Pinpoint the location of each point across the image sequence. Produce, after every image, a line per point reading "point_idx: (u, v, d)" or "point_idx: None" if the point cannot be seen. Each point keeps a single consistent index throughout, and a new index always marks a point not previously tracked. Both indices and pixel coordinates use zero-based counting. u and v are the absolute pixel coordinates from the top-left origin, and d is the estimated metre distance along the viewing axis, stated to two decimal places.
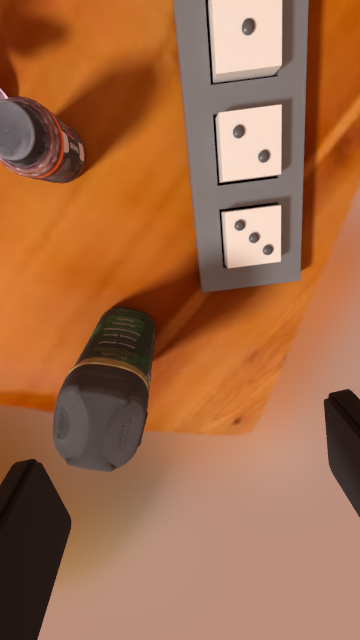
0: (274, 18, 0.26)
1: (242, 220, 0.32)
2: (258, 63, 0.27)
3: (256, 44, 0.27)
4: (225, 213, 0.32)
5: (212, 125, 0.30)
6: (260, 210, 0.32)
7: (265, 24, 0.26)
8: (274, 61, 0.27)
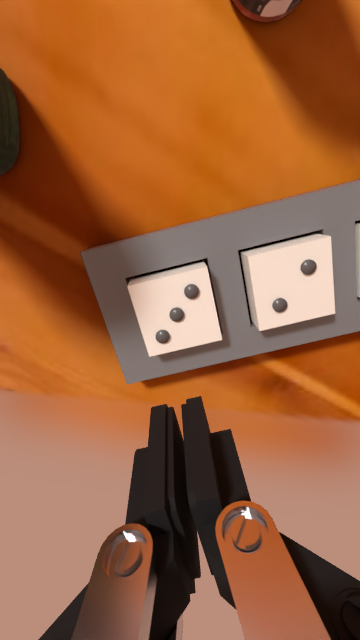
0: None
1: (198, 293, 0.22)
2: None
3: None
4: (205, 267, 0.22)
5: (310, 230, 0.23)
6: (213, 315, 0.23)
7: None
8: None
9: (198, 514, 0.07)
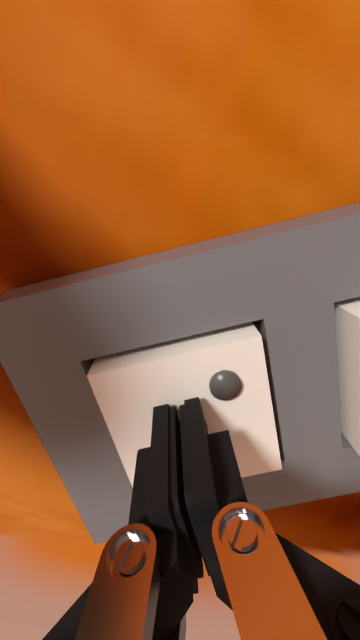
0: None
1: (239, 389, 0.10)
2: None
3: None
4: (257, 337, 0.10)
5: None
6: (268, 428, 0.11)
7: None
8: None
9: (195, 515, 0.07)
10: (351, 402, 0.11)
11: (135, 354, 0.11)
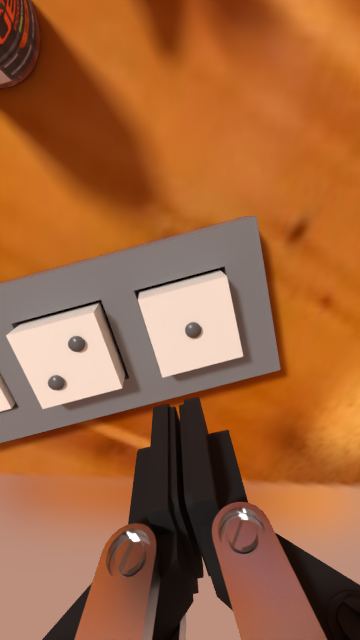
0: (205, 357, 0.21)
1: None
2: (159, 350, 0.21)
3: (177, 343, 0.21)
4: None
5: (87, 301, 0.21)
6: None
7: (198, 349, 0.21)
8: (164, 368, 0.21)
9: (195, 515, 0.07)
10: None
11: None
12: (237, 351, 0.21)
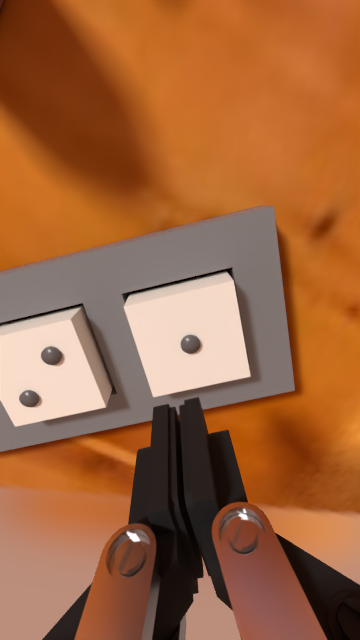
0: (204, 376, 0.18)
1: None
2: (149, 365, 0.17)
3: (171, 358, 0.17)
4: None
5: (66, 304, 0.18)
6: None
7: (197, 366, 0.18)
8: (155, 387, 0.18)
9: (195, 515, 0.07)
10: None
11: None
12: (243, 370, 0.18)
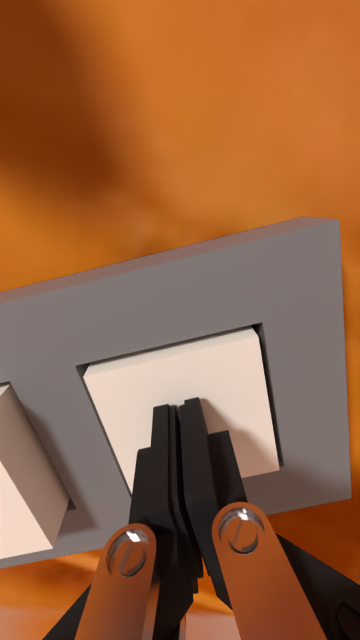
0: None
1: None
2: (127, 459, 0.11)
3: None
4: None
5: None
6: None
7: None
8: None
9: (195, 515, 0.07)
10: None
11: None
12: (269, 462, 0.12)
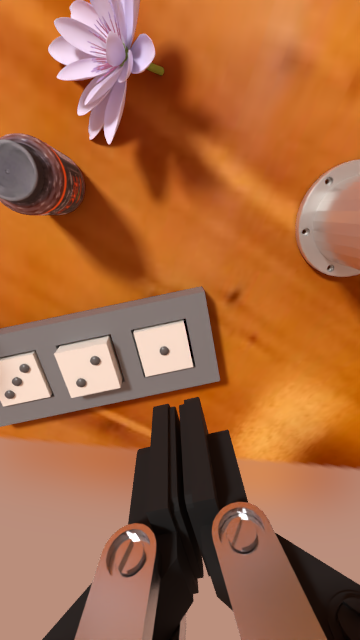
0: (171, 366, 0.37)
1: (29, 369, 0.35)
2: (144, 361, 0.36)
3: (155, 357, 0.36)
4: (32, 354, 0.35)
5: (102, 334, 0.35)
6: (42, 382, 0.36)
7: (167, 361, 0.36)
8: (147, 371, 0.37)
9: (195, 515, 0.07)
10: None
11: None
12: (189, 363, 0.37)
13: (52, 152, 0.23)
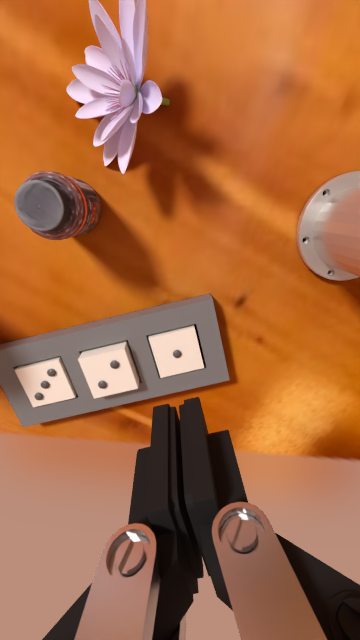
0: (183, 368, 0.40)
1: (55, 373, 0.39)
2: (159, 363, 0.39)
3: (169, 360, 0.39)
4: (58, 360, 0.39)
5: (120, 340, 0.38)
6: (67, 384, 0.40)
7: (180, 363, 0.40)
8: (161, 373, 0.40)
9: (195, 515, 0.07)
10: None
11: (28, 364, 0.40)
12: (201, 365, 0.40)
13: (74, 185, 0.27)
